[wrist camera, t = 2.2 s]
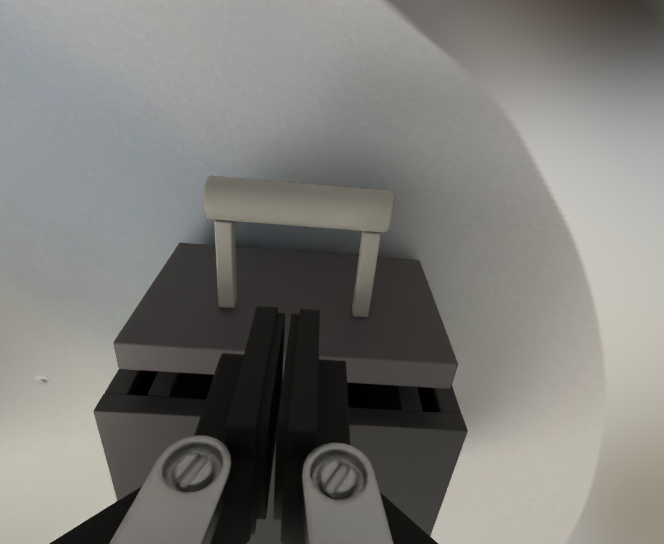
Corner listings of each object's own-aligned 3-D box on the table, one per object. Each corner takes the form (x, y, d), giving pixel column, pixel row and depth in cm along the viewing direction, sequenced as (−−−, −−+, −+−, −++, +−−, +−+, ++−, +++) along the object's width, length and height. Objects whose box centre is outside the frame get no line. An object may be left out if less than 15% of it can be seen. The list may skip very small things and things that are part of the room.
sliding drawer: (168, 135, 18) (81, 198, 12) (441, 158, 18) (500, 231, 12) (198, 436, 27) (158, 563, 21) (380, 445, 28) (395, 572, 21)
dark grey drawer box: (176, 271, 22) (92, 411, 14) (420, 289, 23) (468, 431, 15) (196, 457, 30) (148, 617, 22) (380, 466, 30) (398, 625, 22)
